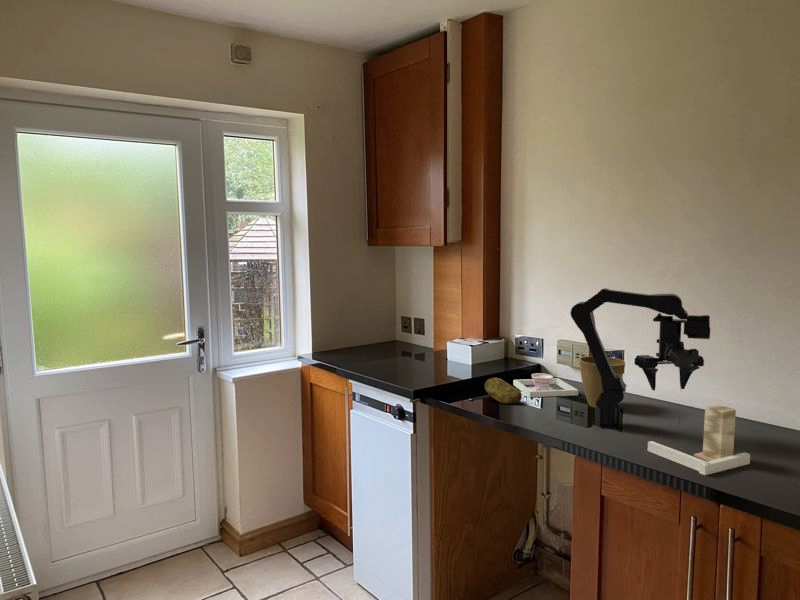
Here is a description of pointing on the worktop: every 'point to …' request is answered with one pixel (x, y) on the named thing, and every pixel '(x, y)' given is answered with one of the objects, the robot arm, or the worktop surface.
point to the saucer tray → (546, 393)
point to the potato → (502, 391)
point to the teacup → (541, 382)
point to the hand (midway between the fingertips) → (667, 389)
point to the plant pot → (596, 376)
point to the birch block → (719, 431)
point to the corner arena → (699, 464)
